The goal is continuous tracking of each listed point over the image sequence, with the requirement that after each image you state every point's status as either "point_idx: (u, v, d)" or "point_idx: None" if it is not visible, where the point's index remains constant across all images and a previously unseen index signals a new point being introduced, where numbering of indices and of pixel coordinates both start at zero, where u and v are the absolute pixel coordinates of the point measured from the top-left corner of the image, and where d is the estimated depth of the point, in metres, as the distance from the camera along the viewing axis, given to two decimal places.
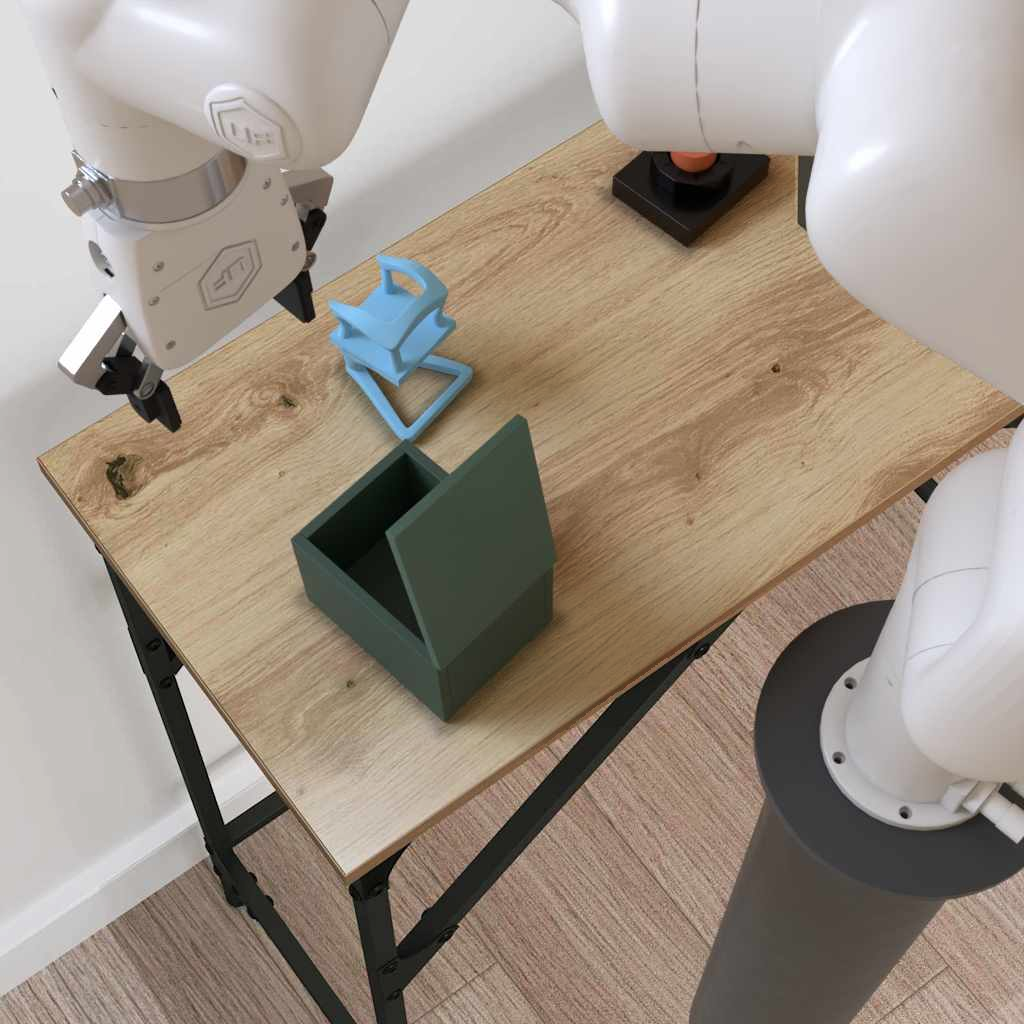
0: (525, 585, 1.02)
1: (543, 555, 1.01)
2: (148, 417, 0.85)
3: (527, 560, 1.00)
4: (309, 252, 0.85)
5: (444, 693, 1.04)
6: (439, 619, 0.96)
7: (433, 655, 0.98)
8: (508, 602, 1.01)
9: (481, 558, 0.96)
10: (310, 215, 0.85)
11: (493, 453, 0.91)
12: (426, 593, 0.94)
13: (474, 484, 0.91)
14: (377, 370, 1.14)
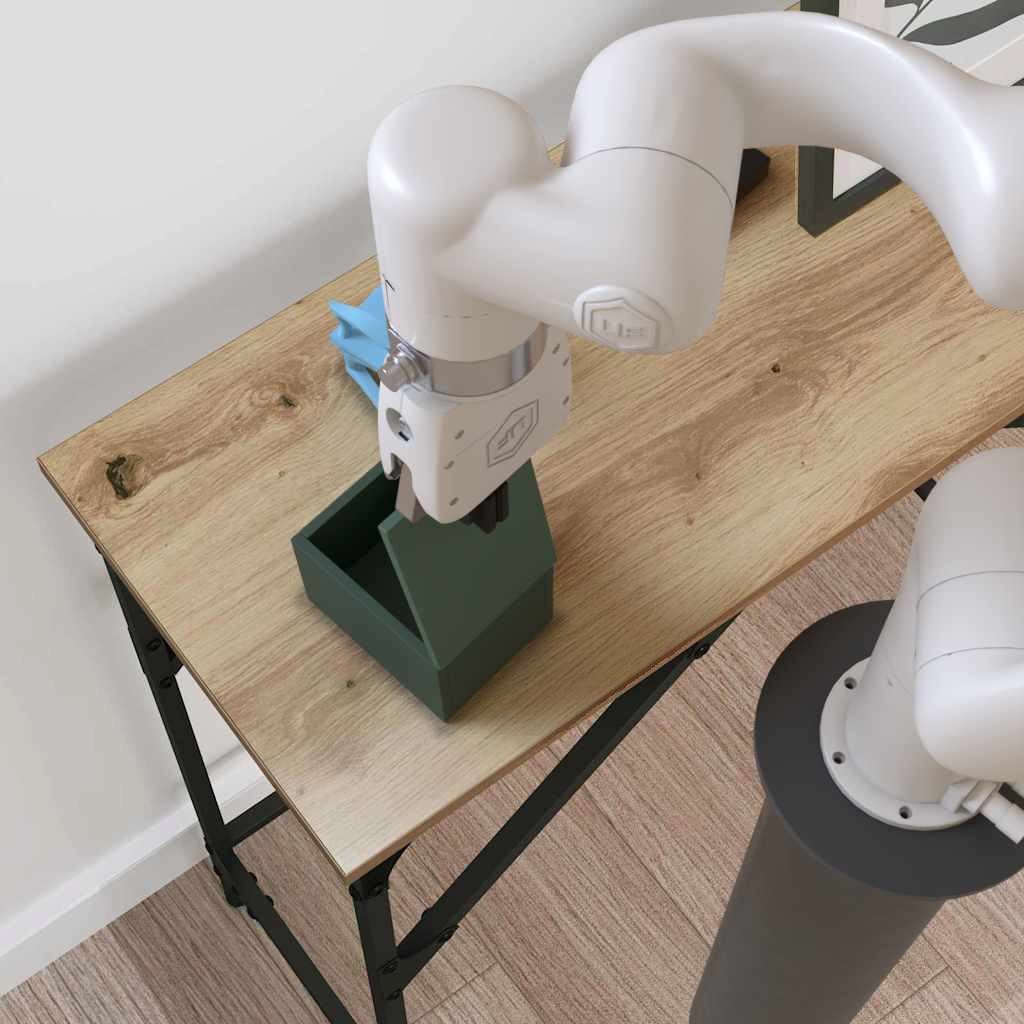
0: (525, 585, 1.02)
1: (542, 554, 1.02)
2: (469, 520, 0.89)
3: (526, 559, 1.00)
4: None
5: (444, 693, 1.04)
6: (437, 617, 0.96)
7: (432, 654, 0.99)
8: (508, 602, 1.01)
9: (477, 556, 0.96)
10: None
11: None
12: (422, 590, 0.94)
13: None
14: None
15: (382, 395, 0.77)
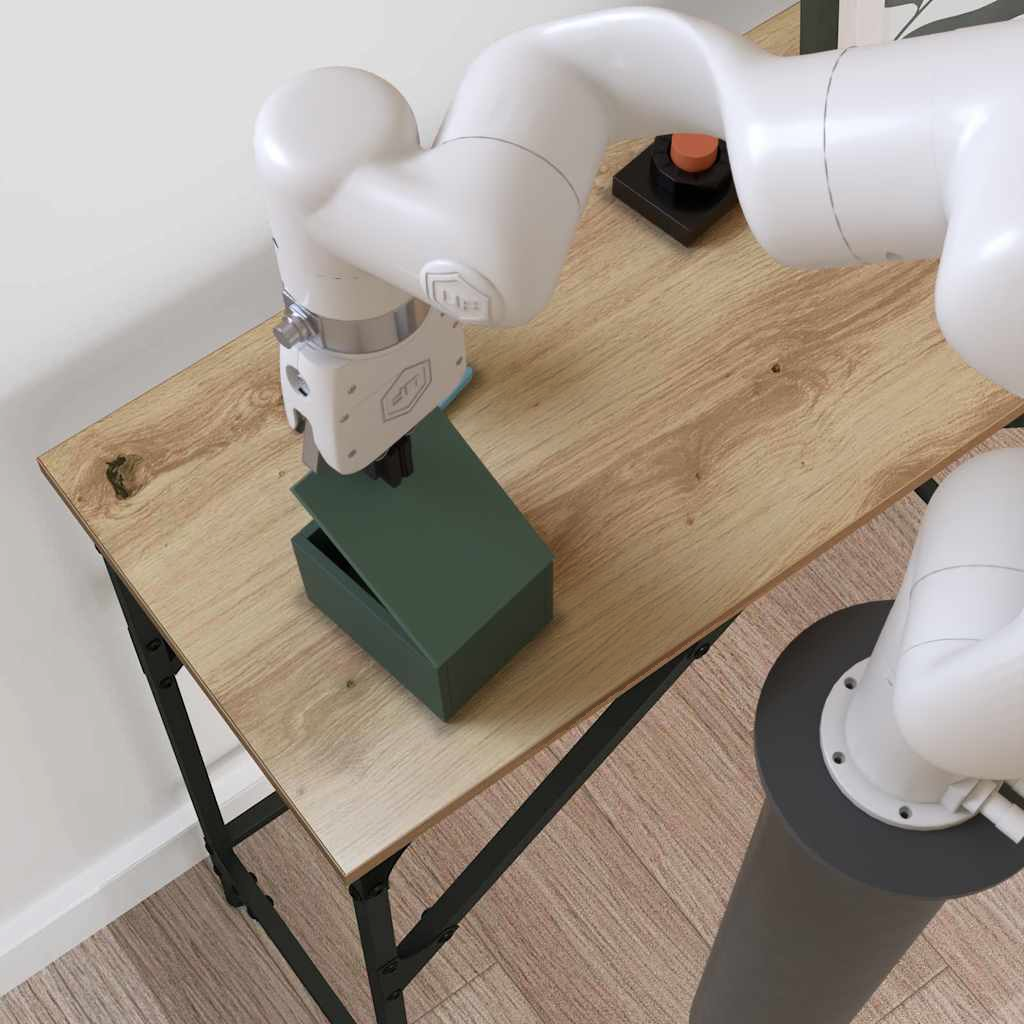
0: (519, 580, 1.02)
1: (528, 546, 1.02)
2: (375, 475, 0.96)
3: (505, 548, 1.02)
4: None
5: (444, 693, 1.04)
6: (403, 598, 0.99)
7: (421, 647, 0.99)
8: (502, 597, 1.01)
9: (431, 533, 1.00)
10: None
11: None
12: (368, 561, 0.98)
13: None
14: None
15: (282, 354, 0.84)
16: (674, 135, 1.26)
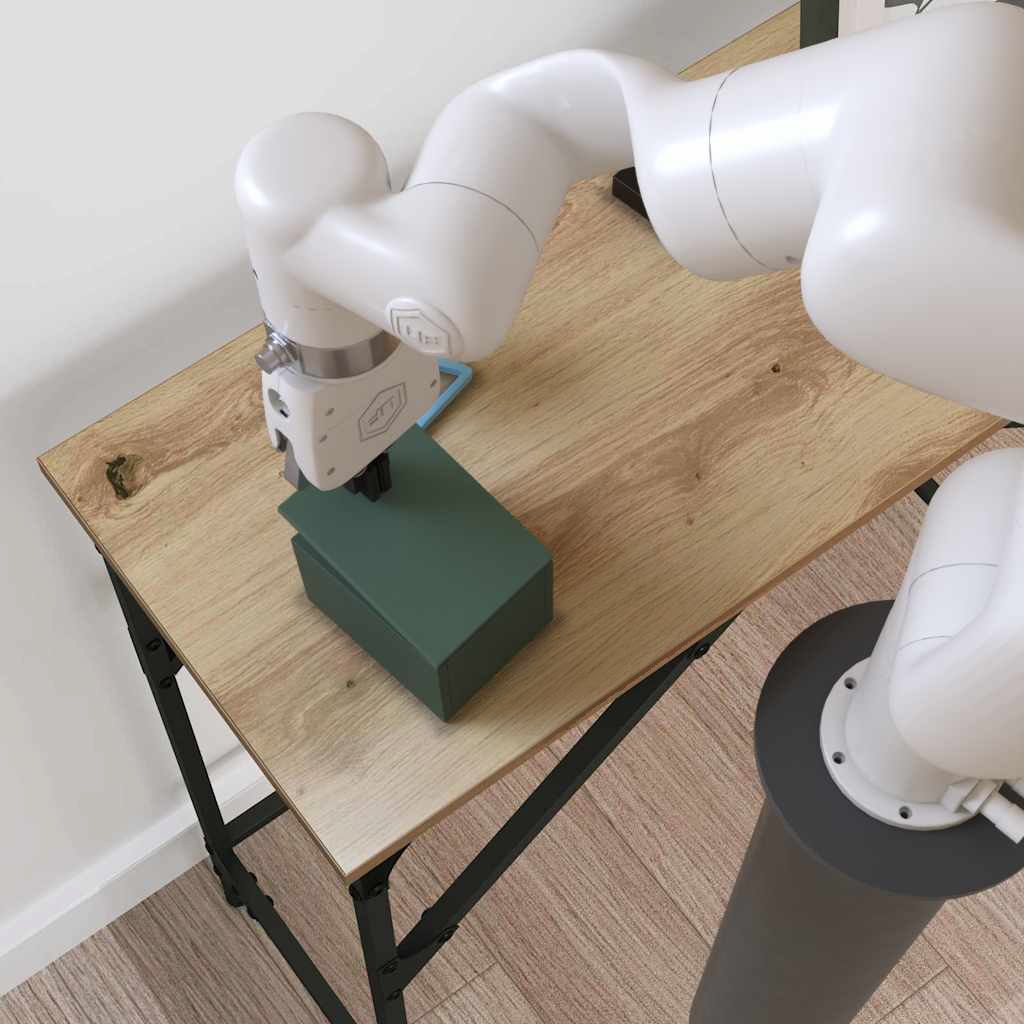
0: (516, 578, 1.02)
1: (523, 546, 1.03)
2: (355, 490, 1.01)
3: (499, 549, 1.03)
4: None
5: (444, 693, 1.04)
6: (395, 601, 1.01)
7: (417, 648, 1.00)
8: (500, 596, 1.02)
9: (420, 539, 1.02)
10: None
11: None
12: (356, 569, 1.01)
13: None
14: None
15: (264, 377, 0.89)
16: None
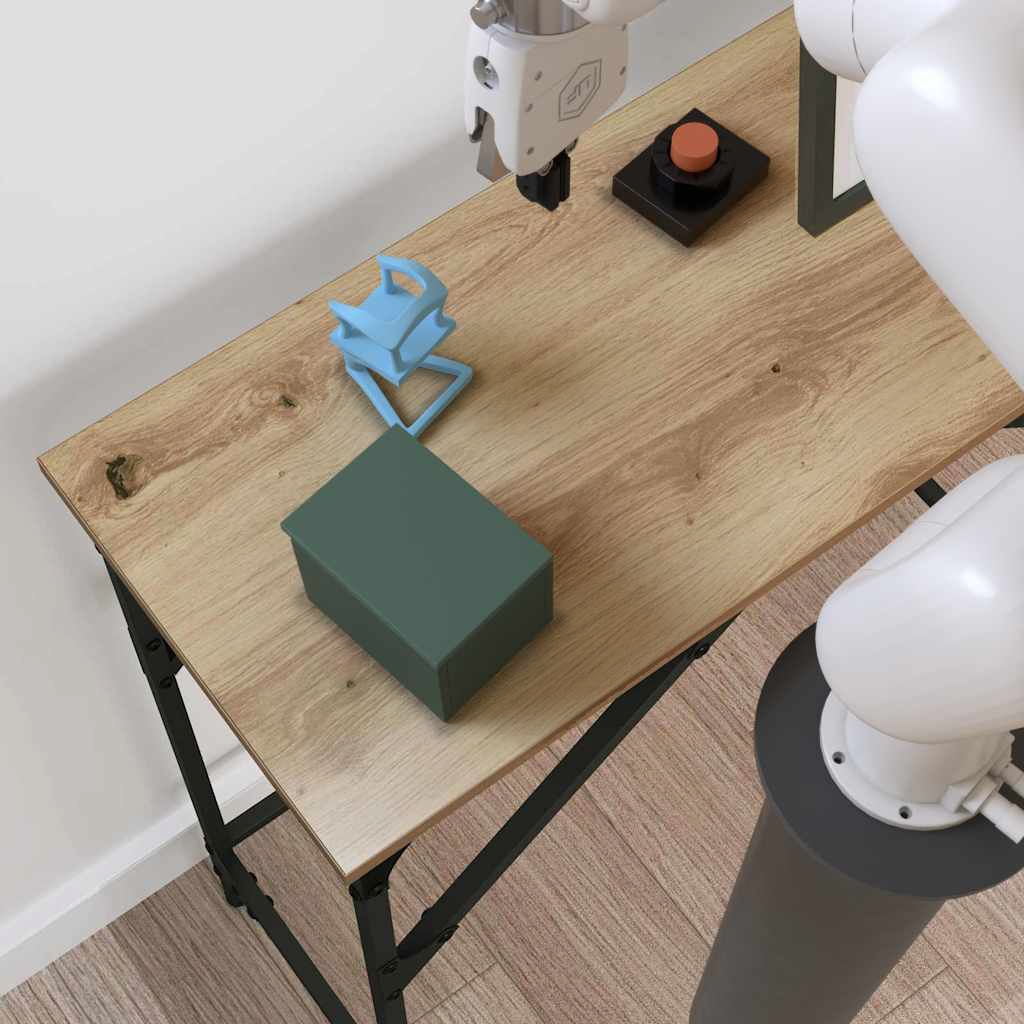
0: (515, 578, 1.02)
1: (522, 547, 1.03)
2: (536, 196, 1.02)
3: (497, 551, 1.03)
4: None
5: (444, 693, 1.04)
6: (394, 605, 1.01)
7: (417, 649, 1.00)
8: (499, 595, 1.02)
9: (419, 546, 1.03)
10: None
11: (367, 450, 1.07)
12: (356, 577, 1.02)
13: (360, 477, 1.06)
14: (377, 370, 1.14)
15: (470, 46, 0.89)
16: (674, 135, 1.26)
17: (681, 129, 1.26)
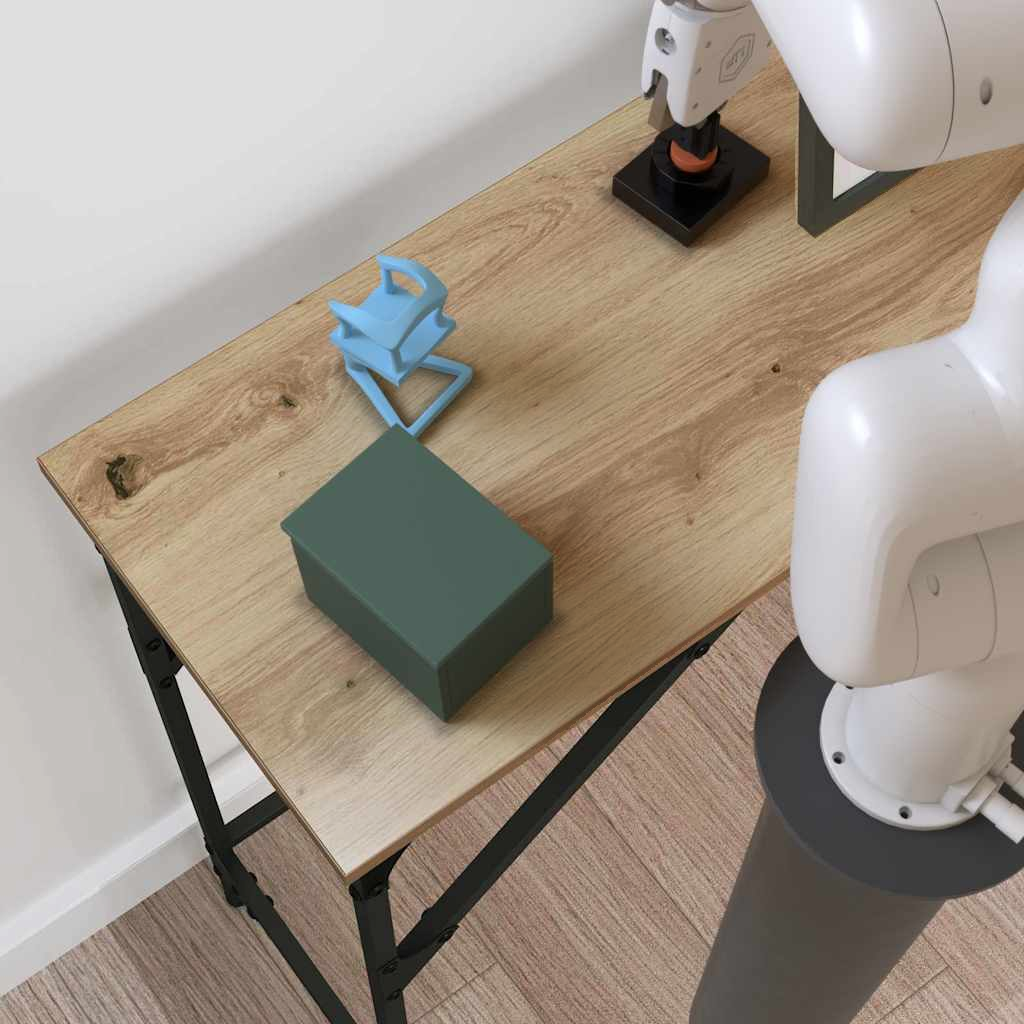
0: (515, 578, 1.02)
1: (522, 547, 1.03)
2: (690, 146, 1.24)
3: (497, 551, 1.03)
4: None
5: (444, 693, 1.04)
6: (394, 605, 1.01)
7: (417, 649, 1.00)
8: (499, 595, 1.02)
9: (419, 546, 1.03)
10: None
11: (367, 450, 1.07)
12: (356, 577, 1.02)
13: (360, 477, 1.06)
14: (377, 370, 1.14)
15: (653, 20, 1.12)
16: (673, 142, 1.26)
17: None
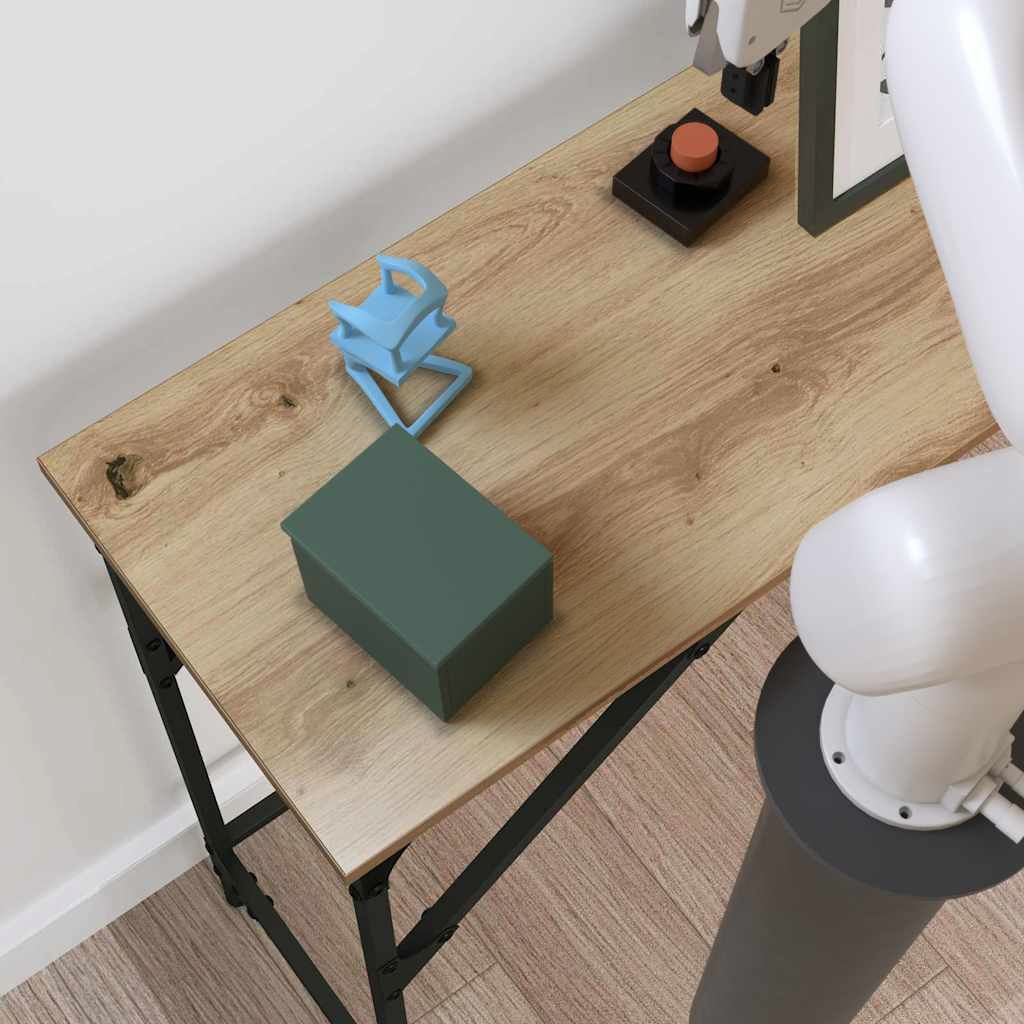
0: (515, 578, 1.02)
1: (522, 547, 1.03)
2: (743, 98, 1.03)
3: (497, 551, 1.03)
4: None
5: (444, 693, 1.04)
6: (394, 605, 1.01)
7: (417, 649, 1.00)
8: (499, 595, 1.02)
9: (419, 546, 1.03)
10: None
11: (367, 450, 1.07)
12: (356, 577, 1.02)
13: (360, 477, 1.06)
14: (377, 370, 1.14)
15: None
16: (674, 135, 1.26)
17: (681, 129, 1.26)
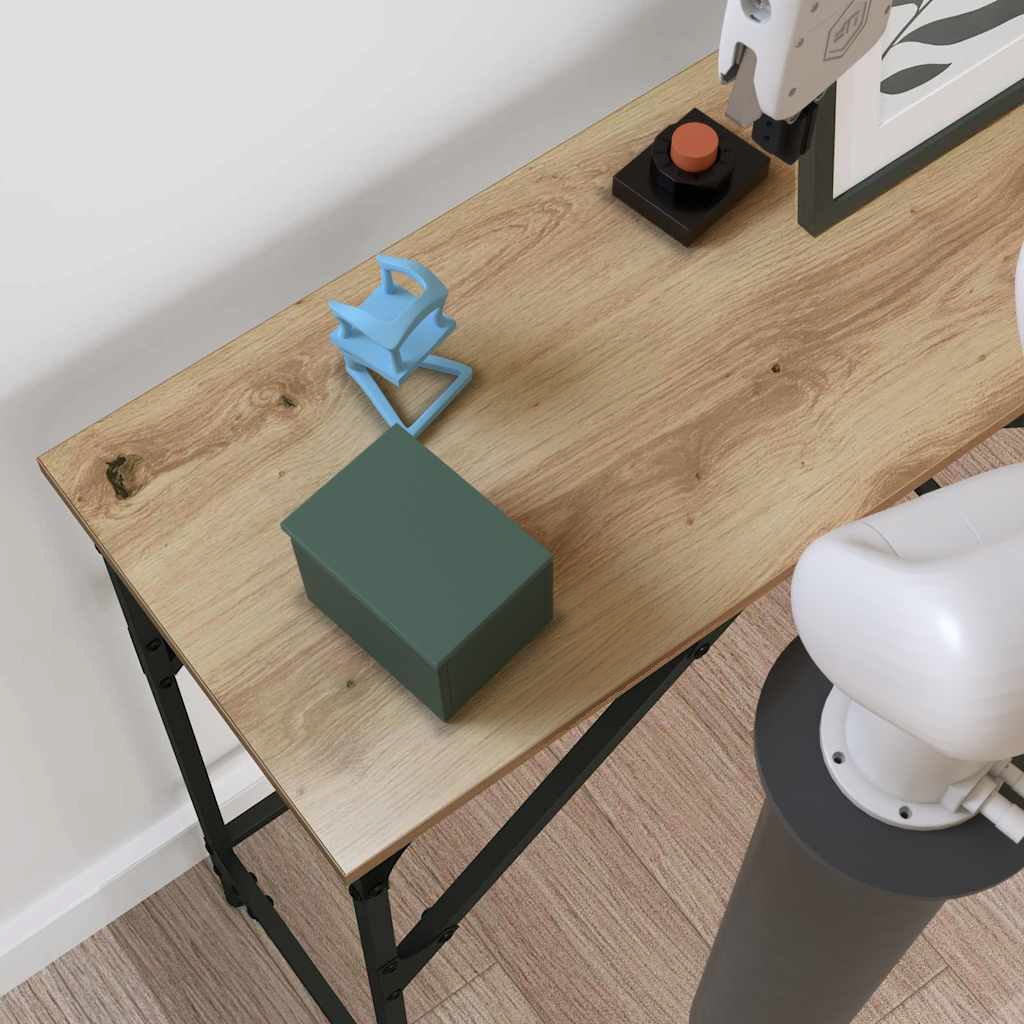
0: (515, 578, 1.02)
1: (522, 547, 1.03)
2: (777, 147, 0.94)
3: (497, 551, 1.03)
4: None
5: (444, 693, 1.04)
6: (394, 605, 1.01)
7: (417, 649, 1.00)
8: (499, 595, 1.02)
9: (419, 546, 1.03)
10: None
11: (367, 450, 1.07)
12: (356, 577, 1.02)
13: (360, 477, 1.06)
14: (377, 370, 1.14)
15: None
16: (674, 135, 1.26)
17: (681, 129, 1.26)
